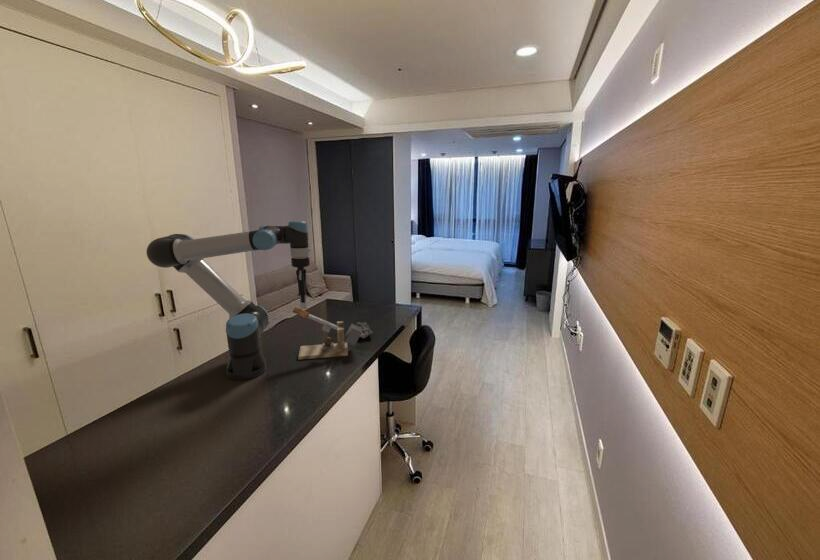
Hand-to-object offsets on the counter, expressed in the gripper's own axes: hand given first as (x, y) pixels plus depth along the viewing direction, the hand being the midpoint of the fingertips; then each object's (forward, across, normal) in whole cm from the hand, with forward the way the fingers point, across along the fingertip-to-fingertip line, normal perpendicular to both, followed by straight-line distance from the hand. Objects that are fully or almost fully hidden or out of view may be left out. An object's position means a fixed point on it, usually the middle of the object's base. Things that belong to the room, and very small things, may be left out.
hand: (303, 308), depth 154 cm
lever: (+11, 0, -8) cm, 14 cm away
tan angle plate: (+22, 0, -8) cm, 24 cm away
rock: (+23, +16, -27) cm, 39 cm away
